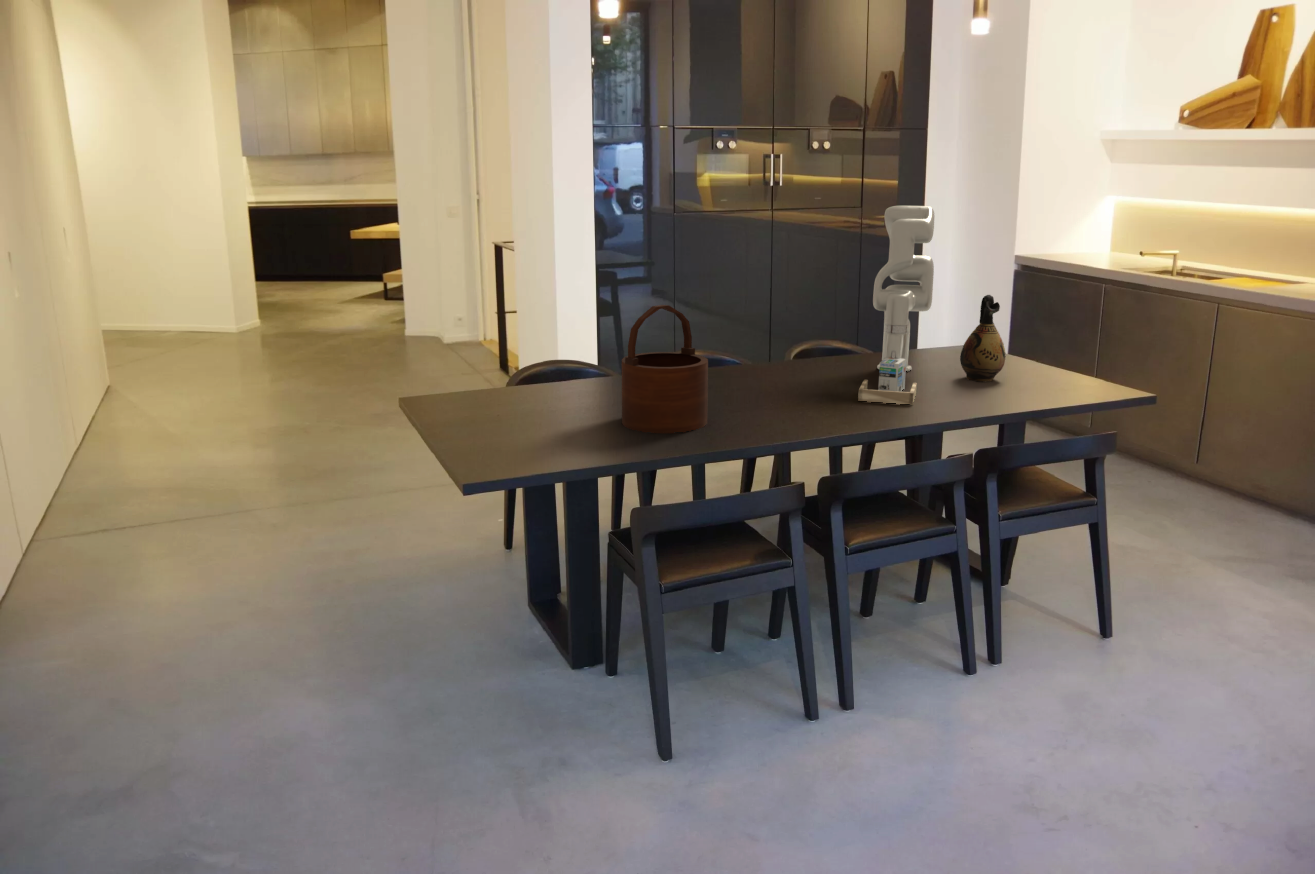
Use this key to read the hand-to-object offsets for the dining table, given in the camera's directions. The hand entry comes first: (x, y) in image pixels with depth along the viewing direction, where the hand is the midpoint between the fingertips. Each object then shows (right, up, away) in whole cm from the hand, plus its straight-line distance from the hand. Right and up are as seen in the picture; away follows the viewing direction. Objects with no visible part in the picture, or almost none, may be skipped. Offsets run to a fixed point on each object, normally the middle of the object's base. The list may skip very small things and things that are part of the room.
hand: (892, 381), depth 357 cm
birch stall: (-6, -6, -17) cm, 19 cm away
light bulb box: (-2, -4, -8) cm, 9 cm away
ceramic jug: (+34, +1, +12) cm, 36 cm away
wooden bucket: (-80, -15, -48) cm, 95 cm away
